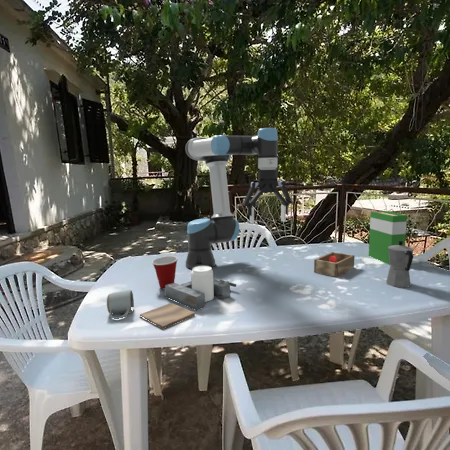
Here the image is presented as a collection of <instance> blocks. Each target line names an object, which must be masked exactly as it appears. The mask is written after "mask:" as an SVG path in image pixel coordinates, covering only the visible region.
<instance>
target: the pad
mask: <svg viewBox="0 0 450 450" xmlns="http://www.w3.org/2000/svg"><path fill="white" fill-rule="evenodd" d="M140 316H142V317H144V318H145V319H147V320H149V321H150V322H152V323H154V324H156V325H157V326H160V327H161V328H165V327H167V328H169V327H168V326H170V327H171V325H172V326H174V325H176V324H175V323H177V322H179V323H181V322H183V321H186V320H188V319H190V318H192V316H193V317H194V316H196V313H195V311H192V310H189V309H188V308H185V307H182V306H180V305H177V304H176V303H173V302H170V303H167V304H164V305H161V306H159V307H157V308H154V309H151V310H149V311H146V312H143V313H141V314H139V317H140ZM187 318H188V319H187ZM185 319H186V320H185ZM182 320H183V321H182ZM180 321H181V322H180ZM150 322H149V323H150ZM152 323H151V324H152ZM154 324H153V325H154ZM173 324H174V325H173ZM177 324H178V323H177ZM157 326H156V327H157ZM161 328H160V329H161ZM165 329H166V328H165Z"/></svg>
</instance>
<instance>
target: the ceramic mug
mask: <svg viewBox="0 0 450 450" xmlns="http://www.w3.org/2000/svg"><path fill="white" fill-rule="evenodd" d="M131 307H134V308H135V303H134V293H133V290H131V289H128V290H122V291H117V292H116V291H115V292H112V293H109V294H108V295H107V298H106V309H107V311H108V312H107V313H109V315H110V319H112V318H114V319H119V318H123V317H126V316H128V314H130V313H129V312H132V310H131ZM112 313H121V314H122V315H121V316H114V315H113V314H112ZM132 313H133V312H132ZM126 318H127V317H126Z"/></svg>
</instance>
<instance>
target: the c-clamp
mask: <svg viewBox="0 0 450 450" xmlns="http://www.w3.org/2000/svg"><path fill="white" fill-rule="evenodd" d="M190 279H191V280H190V281H187V282H184V283H181V284H179V283H176V282H174V283H171V284H168V285H165V289H164V298H165V297H167V298H166V299H168V298H170V299H172V300H175V301H177V302H179V303H178V304H180V303H181V304H180V305H182V304H183V305H182V306H184V305H186V306H185V307H187V306H188V308H189V307H190V308H189V309H192V308H193V309H192V310H194V309H195V310H194V311H199V310H202V309H203V308H206V302H205V294H204V293H201V292H199V291H196V290H193V289H192V278H190ZM213 285H214V298H218V299H221V300H225V299H228V298H230V297H231V287H234V288H236V287H237V284H236V283H232V282H230V281H228V280H224V279H223V280H222V279H219V280H218V279H215V278H213ZM170 299H169V300H170ZM172 300H171V301H172ZM175 301H174V302H175ZM177 302H176V303H177ZM201 308H202V309H201Z"/></svg>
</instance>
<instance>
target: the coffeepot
mask: <svg viewBox="0 0 450 450" xmlns="http://www.w3.org/2000/svg"><path fill="white" fill-rule="evenodd" d="M402 244H403V241H399V245H391V246H388V250H389V261H390V265H389V269H388V273H387V276H386V284H387V285H388V286H391V287H394V288H401V287H404V288H409V287H411V276H410V269H411V266H412V263H413V260H414V254H413V253H414V249H413V247H411V246H408V245H405V246H403V245H402ZM408 286H409V287H408Z"/></svg>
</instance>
